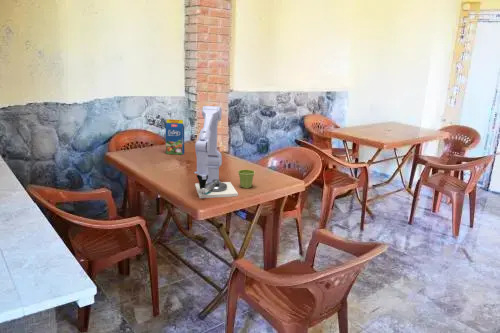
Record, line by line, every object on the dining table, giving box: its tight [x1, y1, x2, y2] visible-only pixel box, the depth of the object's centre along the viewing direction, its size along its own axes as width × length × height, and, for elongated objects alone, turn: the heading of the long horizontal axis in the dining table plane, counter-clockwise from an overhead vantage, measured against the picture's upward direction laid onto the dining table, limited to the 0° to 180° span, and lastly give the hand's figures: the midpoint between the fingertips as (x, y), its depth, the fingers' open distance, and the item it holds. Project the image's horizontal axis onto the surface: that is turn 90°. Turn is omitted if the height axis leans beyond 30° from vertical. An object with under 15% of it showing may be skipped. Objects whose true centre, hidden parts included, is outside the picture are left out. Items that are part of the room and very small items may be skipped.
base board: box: [194, 181, 239, 199], centre depth 220 cm, size 20×20×2 cm
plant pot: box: [237, 169, 256, 189], centre depth 228 cm, size 9×9×9 cm
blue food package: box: [165, 118, 185, 156], centre depth 294 cm, size 6×12×25 cm, turn 84°
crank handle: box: [201, 179, 227, 194], centre depth 215 cm, size 22×12×4 cm, turn 159°
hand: (202, 188), depth 213 cm, fingers closed
